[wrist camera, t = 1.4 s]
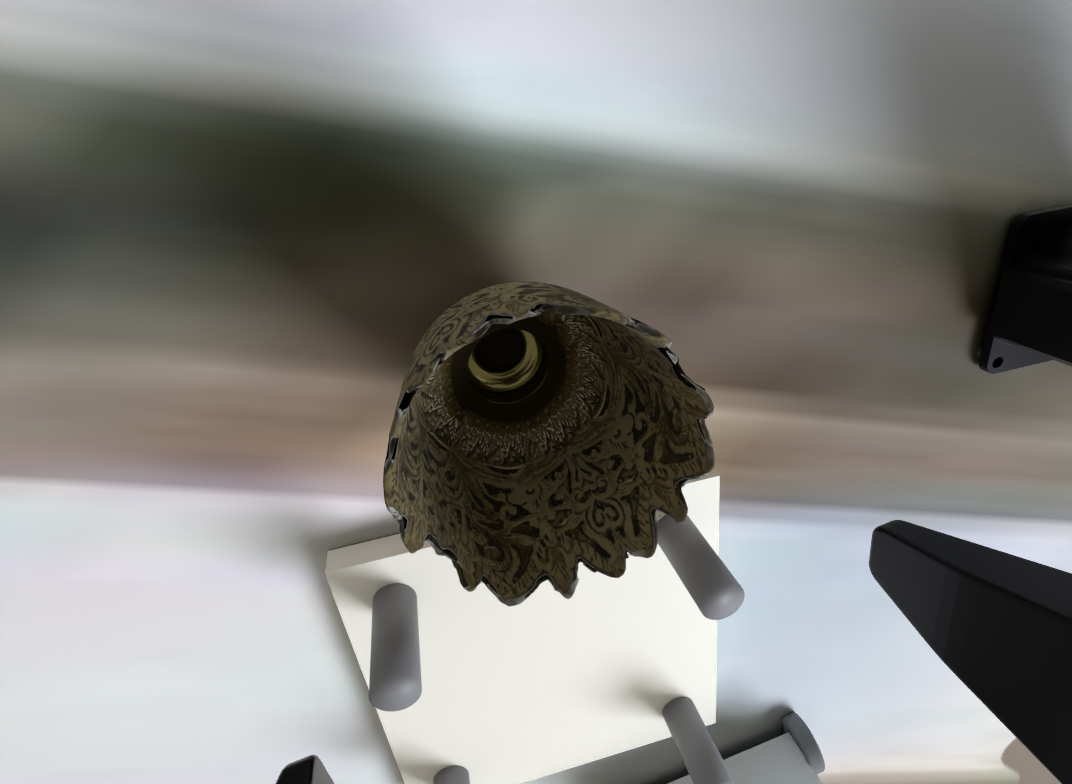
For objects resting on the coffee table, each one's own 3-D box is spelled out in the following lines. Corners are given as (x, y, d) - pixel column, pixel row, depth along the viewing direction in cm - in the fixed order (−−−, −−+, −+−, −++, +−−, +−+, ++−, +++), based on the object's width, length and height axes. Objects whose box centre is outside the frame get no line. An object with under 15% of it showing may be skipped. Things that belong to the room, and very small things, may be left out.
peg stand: (704, 459, 24) (780, 541, 19) (704, 701, 30) (760, 805, 26) (327, 550, 22) (310, 667, 17) (415, 789, 28) (420, 920, 24)
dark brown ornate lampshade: (336, 335, 19) (302, 470, 11) (520, 186, 18) (605, 231, 11) (482, 480, 22) (525, 653, 15) (641, 359, 21) (765, 479, 14)
